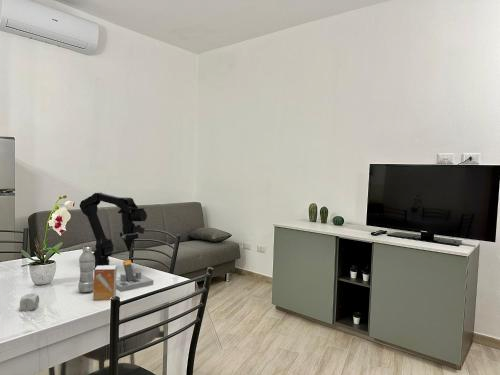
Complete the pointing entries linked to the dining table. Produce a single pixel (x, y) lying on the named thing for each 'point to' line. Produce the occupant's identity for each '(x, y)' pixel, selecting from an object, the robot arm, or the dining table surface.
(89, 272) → the plastic bottle
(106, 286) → the small box
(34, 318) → the dining table surface
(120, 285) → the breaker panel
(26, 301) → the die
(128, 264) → the lever
